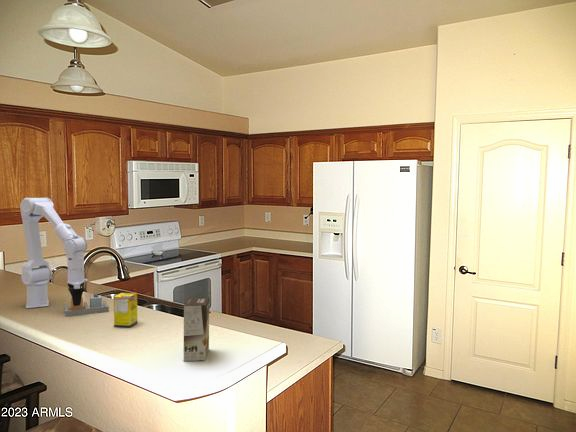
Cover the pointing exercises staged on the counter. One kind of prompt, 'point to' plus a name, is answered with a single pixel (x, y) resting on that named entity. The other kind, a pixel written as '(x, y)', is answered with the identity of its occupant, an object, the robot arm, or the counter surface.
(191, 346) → the coffee box
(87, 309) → the e-shaped shelf rack
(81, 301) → the orange plug
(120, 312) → the supplement box
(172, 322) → the counter surface
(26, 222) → the robot arm
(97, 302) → the seated plug
